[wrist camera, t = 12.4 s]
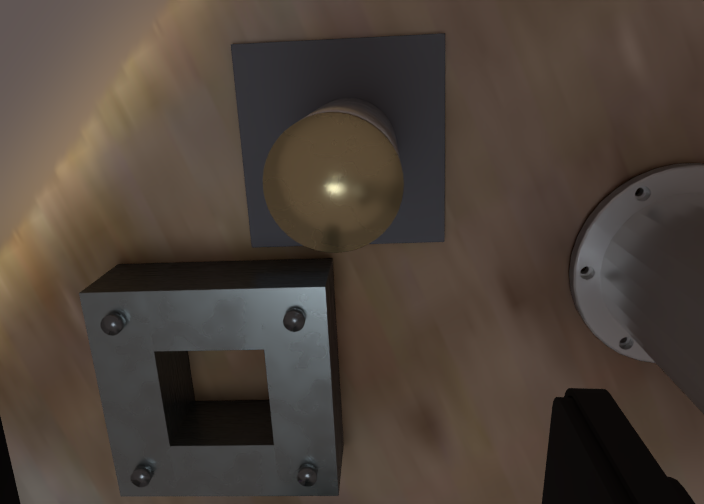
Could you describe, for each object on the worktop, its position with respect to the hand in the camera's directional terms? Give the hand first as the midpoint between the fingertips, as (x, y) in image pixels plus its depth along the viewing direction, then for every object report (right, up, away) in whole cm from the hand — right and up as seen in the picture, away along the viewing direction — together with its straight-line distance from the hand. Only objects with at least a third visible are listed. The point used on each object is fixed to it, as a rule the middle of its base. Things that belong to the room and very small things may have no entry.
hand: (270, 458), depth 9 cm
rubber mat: (+1, +10, +25) cm, 26 cm away
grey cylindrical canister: (+1, +10, +24) cm, 26 cm away
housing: (-7, -4, +29) cm, 30 cm away
